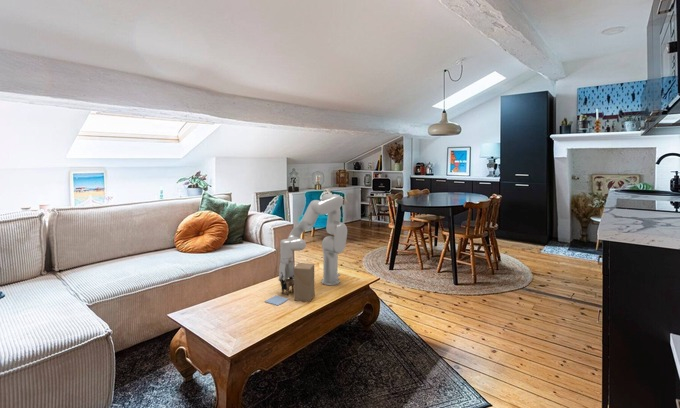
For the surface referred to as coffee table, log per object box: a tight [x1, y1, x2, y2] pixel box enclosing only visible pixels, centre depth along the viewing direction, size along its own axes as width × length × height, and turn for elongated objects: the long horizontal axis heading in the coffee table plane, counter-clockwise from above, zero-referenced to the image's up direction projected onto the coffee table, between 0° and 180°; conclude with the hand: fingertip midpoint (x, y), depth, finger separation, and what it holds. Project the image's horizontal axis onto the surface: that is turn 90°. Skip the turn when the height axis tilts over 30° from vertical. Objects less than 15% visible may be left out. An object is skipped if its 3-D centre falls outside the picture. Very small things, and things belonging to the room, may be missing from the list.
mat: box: [264, 295, 290, 307], centre depth 204 cm, size 10×10×1 cm
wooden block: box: [293, 262, 315, 302], centre depth 207 cm, size 10×10×20 cm
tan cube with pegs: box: [280, 278, 294, 296], centre depth 215 cm, size 6×6×8 cm
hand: (287, 287), depth 215 cm, fingers closed on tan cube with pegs, 6 cm apart
